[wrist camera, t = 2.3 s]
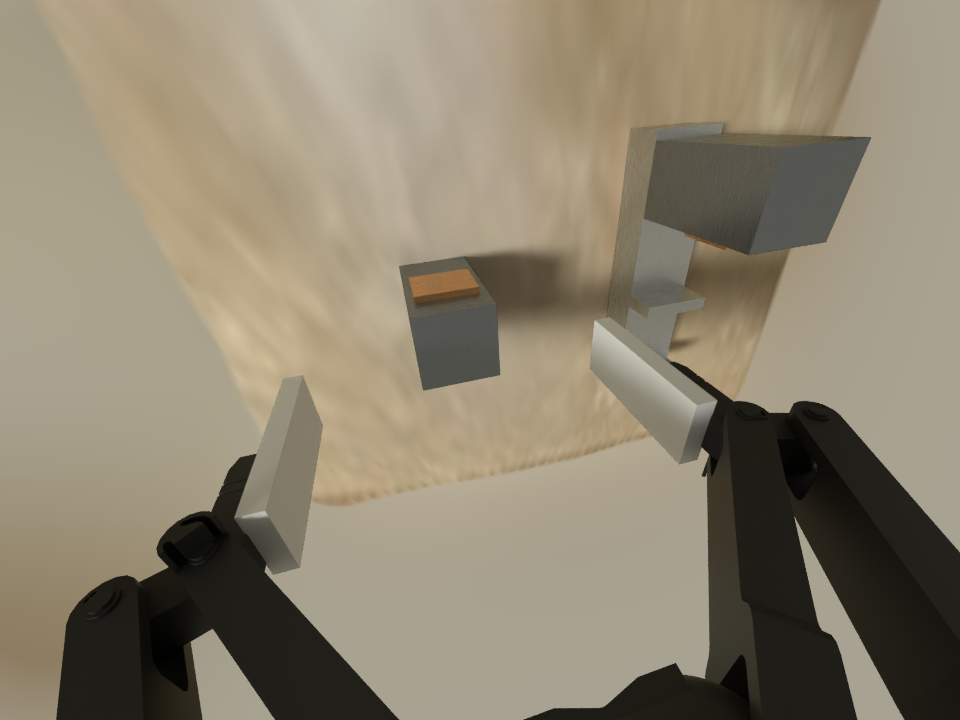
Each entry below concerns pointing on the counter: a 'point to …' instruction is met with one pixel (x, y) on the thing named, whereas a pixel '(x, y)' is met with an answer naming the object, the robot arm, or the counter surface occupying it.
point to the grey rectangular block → (451, 322)
